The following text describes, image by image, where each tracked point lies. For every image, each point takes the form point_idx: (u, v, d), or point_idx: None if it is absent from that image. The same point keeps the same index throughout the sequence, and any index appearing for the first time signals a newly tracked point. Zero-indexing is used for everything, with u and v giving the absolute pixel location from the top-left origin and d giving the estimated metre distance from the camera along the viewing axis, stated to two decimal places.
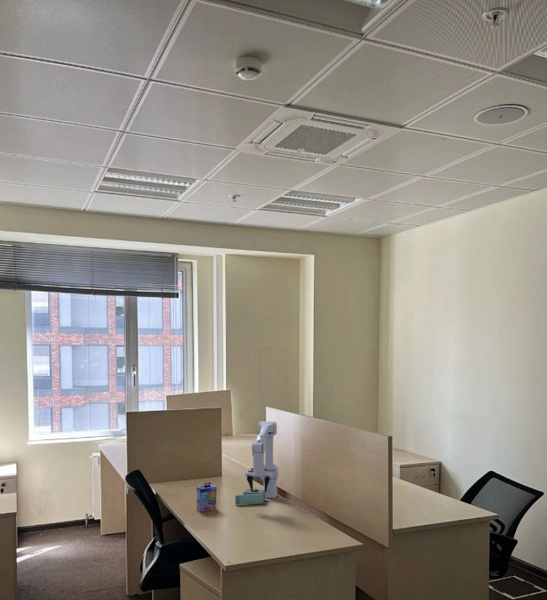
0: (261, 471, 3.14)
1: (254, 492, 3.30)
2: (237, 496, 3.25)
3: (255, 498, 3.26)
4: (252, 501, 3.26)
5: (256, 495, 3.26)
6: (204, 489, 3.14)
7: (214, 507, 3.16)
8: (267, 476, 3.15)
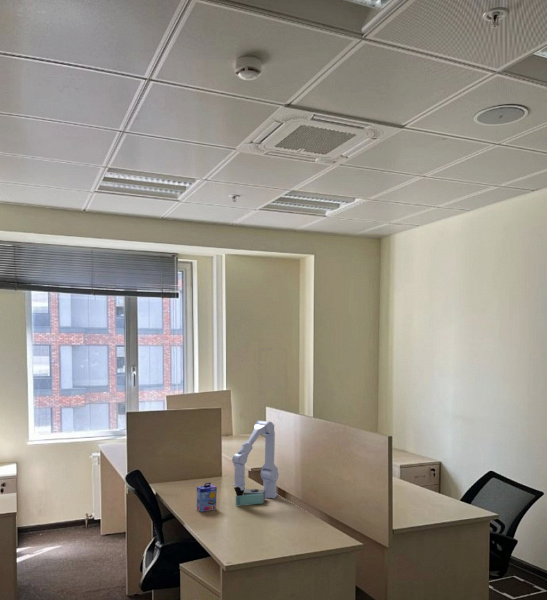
0: (237, 482, 3.24)
1: (254, 492, 3.30)
2: (238, 497, 3.23)
3: (255, 498, 3.26)
4: (252, 501, 3.25)
5: (256, 495, 3.26)
6: (204, 489, 3.14)
7: (214, 507, 3.16)
8: (241, 488, 3.21)
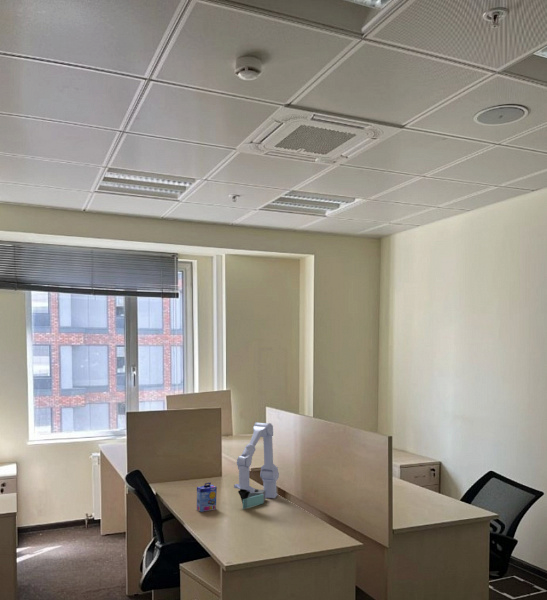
0: (244, 484, 3.17)
1: (254, 492, 3.30)
2: (245, 500, 3.17)
3: (258, 499, 3.24)
4: (256, 502, 3.23)
5: (259, 496, 3.25)
6: (204, 489, 3.14)
7: (214, 507, 3.16)
8: (250, 490, 3.16)
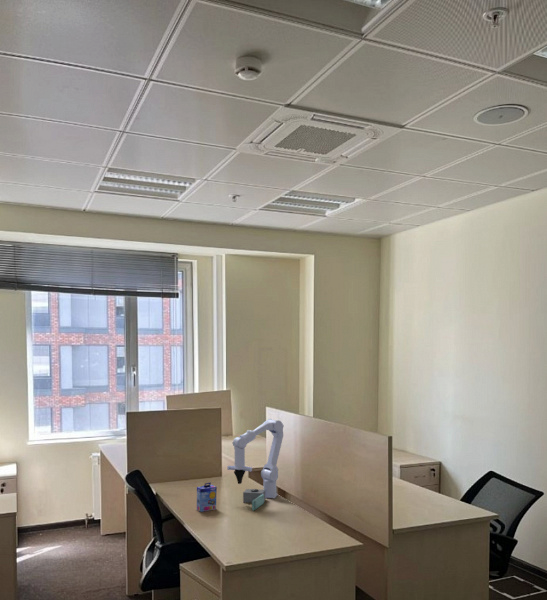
0: (241, 465, 3.29)
1: (254, 492, 3.30)
2: (254, 501, 3.14)
3: (261, 499, 3.23)
4: (260, 503, 3.22)
5: (261, 496, 3.24)
6: (204, 489, 3.14)
7: (214, 507, 3.16)
8: (247, 470, 3.30)
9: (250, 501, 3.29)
